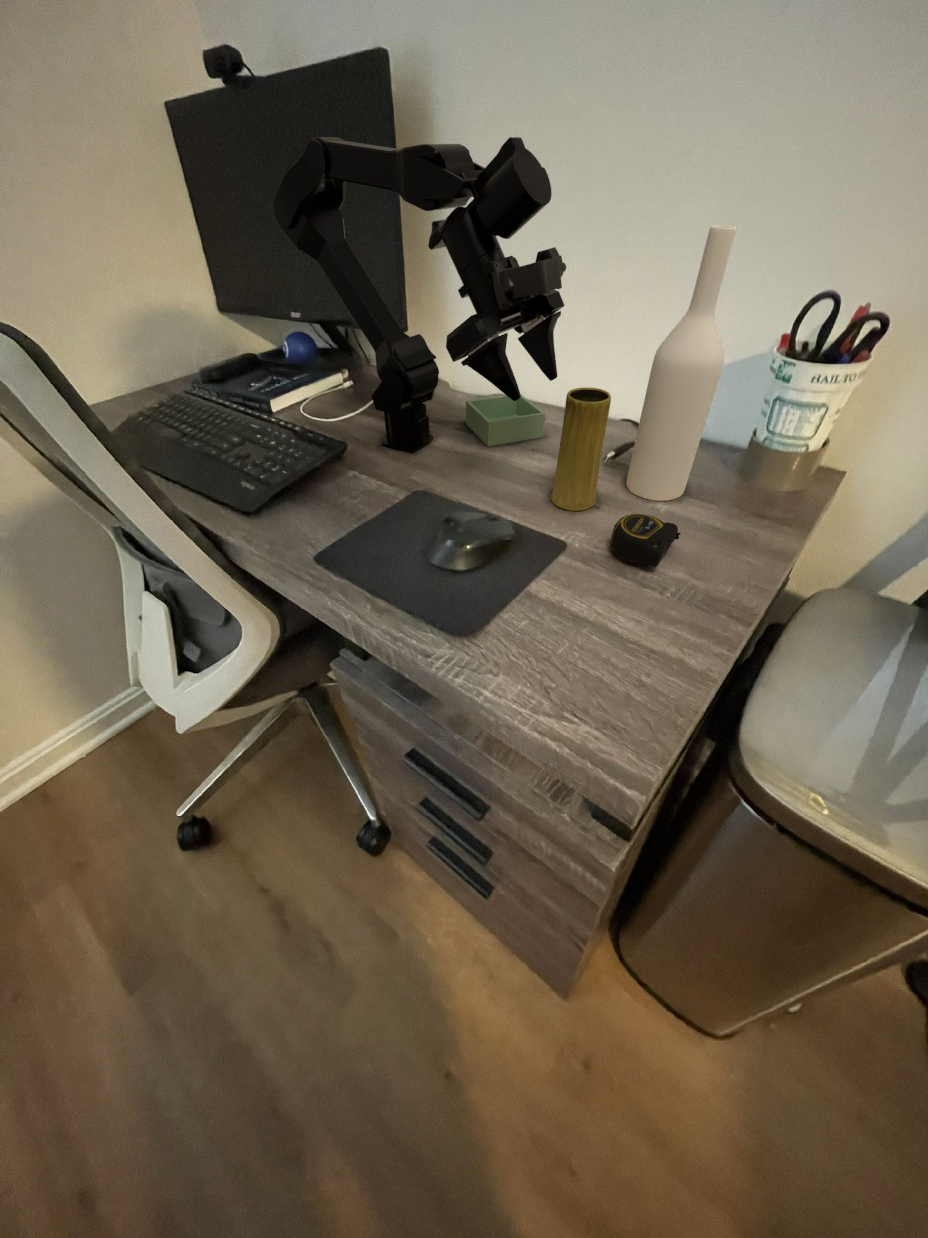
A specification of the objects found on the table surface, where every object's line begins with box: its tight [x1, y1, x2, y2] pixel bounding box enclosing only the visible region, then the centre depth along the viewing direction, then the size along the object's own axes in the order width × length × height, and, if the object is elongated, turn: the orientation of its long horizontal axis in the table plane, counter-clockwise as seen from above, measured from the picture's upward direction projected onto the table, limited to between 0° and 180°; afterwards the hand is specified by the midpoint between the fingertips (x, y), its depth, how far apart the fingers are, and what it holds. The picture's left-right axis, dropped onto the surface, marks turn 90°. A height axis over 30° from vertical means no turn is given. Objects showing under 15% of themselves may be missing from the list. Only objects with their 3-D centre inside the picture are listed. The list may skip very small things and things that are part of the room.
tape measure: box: [610, 513, 682, 568], centre depth 61 cm, size 7×7×4 cm
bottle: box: [625, 224, 737, 502], centre depth 64 cm, size 8×8×30 cm
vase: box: [550, 387, 612, 512], centre depth 67 cm, size 6×6×14 cm
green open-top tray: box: [465, 393, 546, 447], centre depth 88 cm, size 10×10×4 cm
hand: (536, 388), depth 67 cm, fingers open, 9 cm apart
